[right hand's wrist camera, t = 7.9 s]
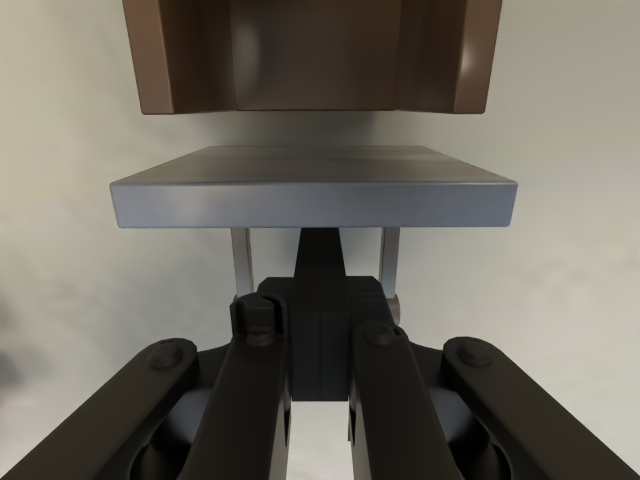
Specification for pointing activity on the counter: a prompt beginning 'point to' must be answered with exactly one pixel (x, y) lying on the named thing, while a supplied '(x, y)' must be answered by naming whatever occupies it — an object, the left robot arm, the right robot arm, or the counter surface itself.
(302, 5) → the drawer
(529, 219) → the counter surface
